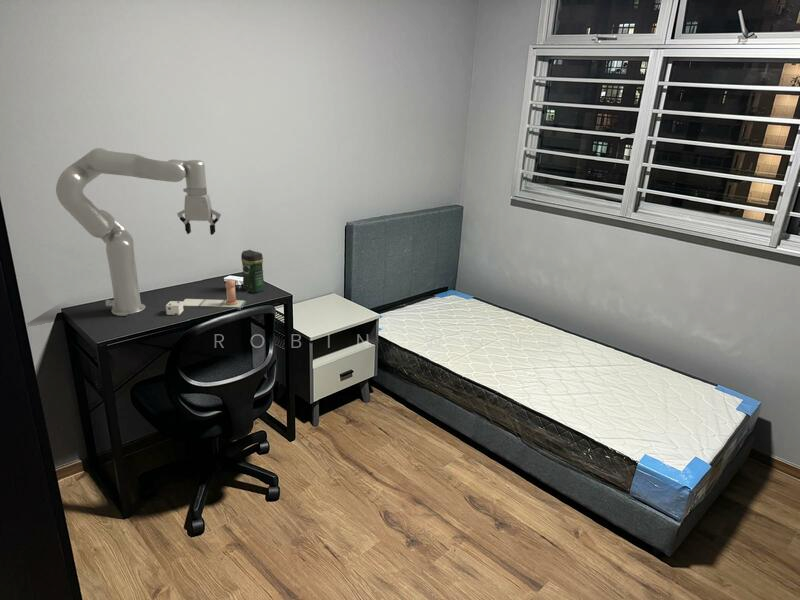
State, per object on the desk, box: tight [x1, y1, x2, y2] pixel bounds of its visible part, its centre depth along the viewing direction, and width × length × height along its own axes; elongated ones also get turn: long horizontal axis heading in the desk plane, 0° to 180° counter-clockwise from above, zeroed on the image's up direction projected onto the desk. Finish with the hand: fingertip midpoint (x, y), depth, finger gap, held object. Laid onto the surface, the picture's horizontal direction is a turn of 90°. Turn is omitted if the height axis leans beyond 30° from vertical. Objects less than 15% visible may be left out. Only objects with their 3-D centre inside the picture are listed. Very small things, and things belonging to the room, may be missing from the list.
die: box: [165, 300, 185, 316], centre depth 226 cm, size 5×5×5 cm
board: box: [183, 298, 247, 311], centre depth 238 cm, size 26×9×1 cm, turn 91°
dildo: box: [224, 279, 238, 305], centre depth 236 cm, size 5×5×11 cm
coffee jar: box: [241, 249, 265, 294], centre depth 255 cm, size 10×8×19 cm
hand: (200, 233), depth 231 cm, fingers open, 9 cm apart
